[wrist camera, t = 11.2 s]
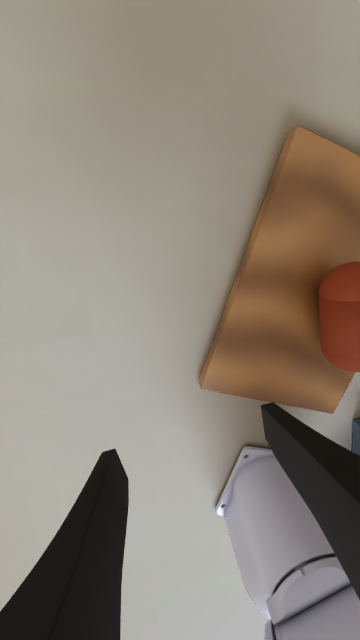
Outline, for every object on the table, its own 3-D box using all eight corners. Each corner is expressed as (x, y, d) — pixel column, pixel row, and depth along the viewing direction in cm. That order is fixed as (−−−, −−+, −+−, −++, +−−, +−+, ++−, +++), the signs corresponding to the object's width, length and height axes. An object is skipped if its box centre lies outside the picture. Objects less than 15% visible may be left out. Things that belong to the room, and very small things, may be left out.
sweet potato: (340, 349, 22) (397, 366, 18) (309, 368, 20) (365, 391, 16) (340, 255, 19) (408, 253, 15) (304, 269, 17) (370, 270, 14)
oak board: (324, 406, 24) (333, 414, 23) (198, 381, 21) (200, 389, 20) (433, 202, 19) (451, 200, 18) (287, 132, 16) (297, 124, 15)
